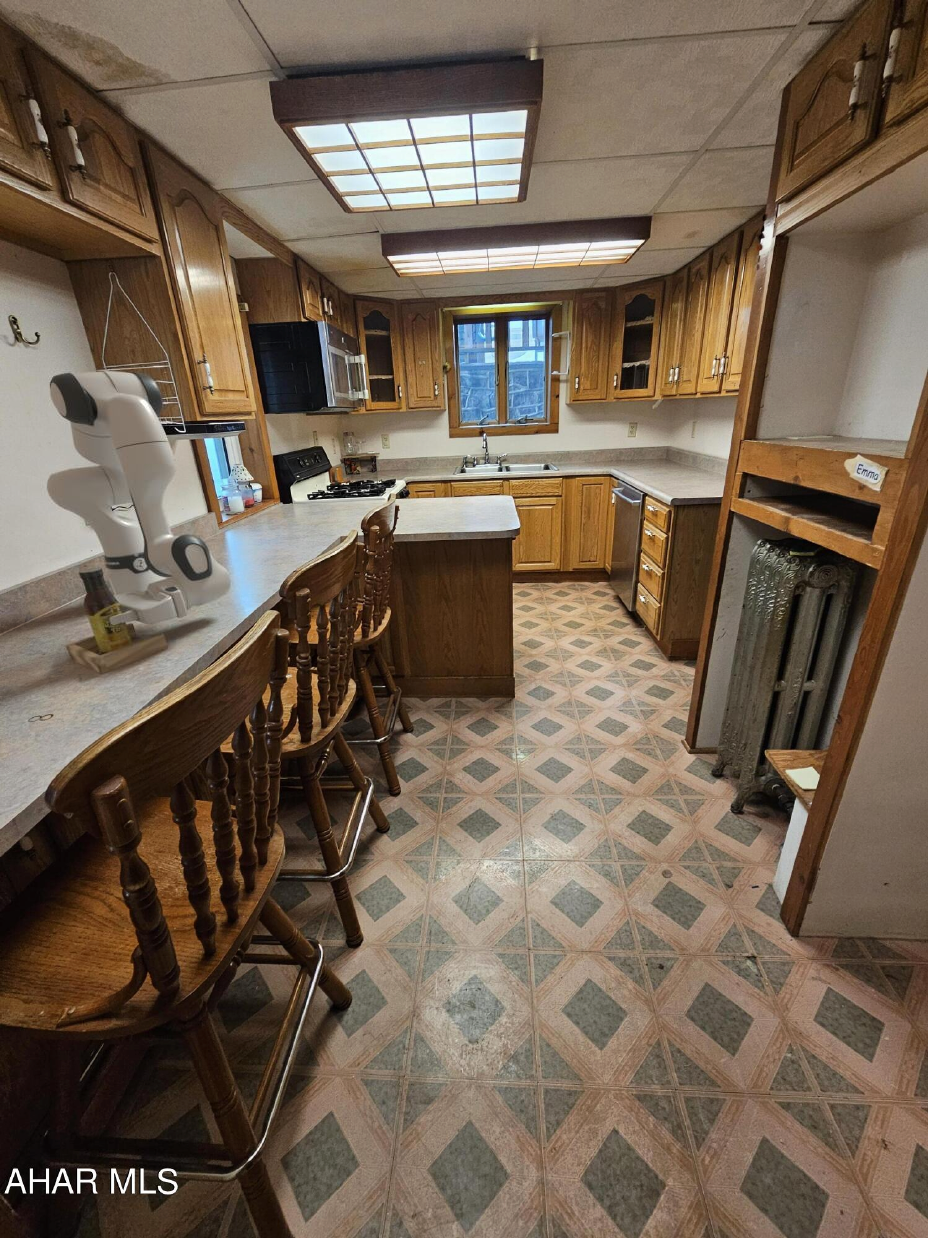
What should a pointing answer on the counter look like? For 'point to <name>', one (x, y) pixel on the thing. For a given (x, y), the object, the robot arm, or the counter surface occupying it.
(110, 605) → the sauce bottle
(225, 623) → the counter surface
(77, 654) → the wooden bracket
